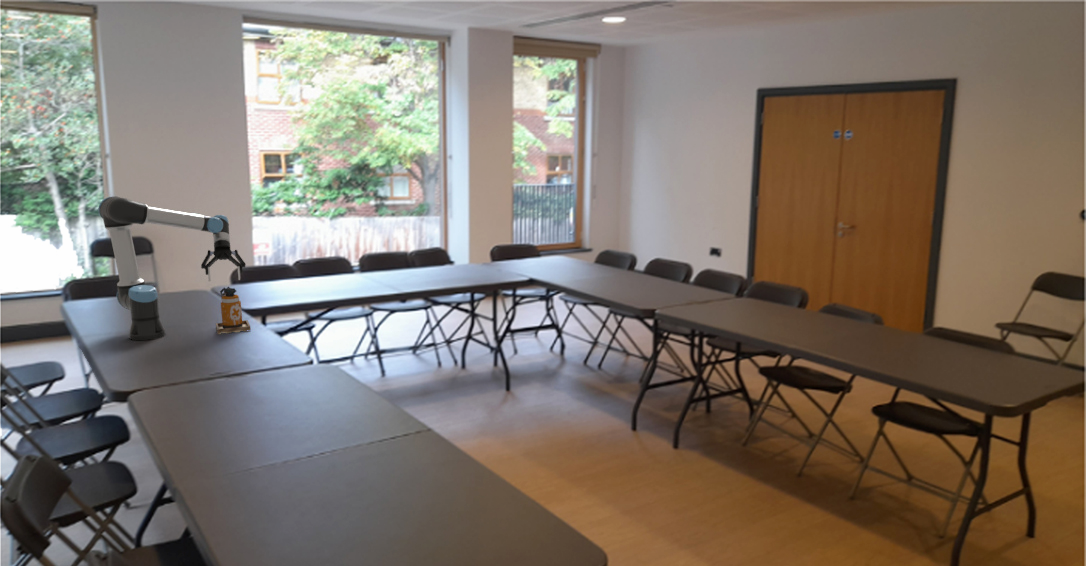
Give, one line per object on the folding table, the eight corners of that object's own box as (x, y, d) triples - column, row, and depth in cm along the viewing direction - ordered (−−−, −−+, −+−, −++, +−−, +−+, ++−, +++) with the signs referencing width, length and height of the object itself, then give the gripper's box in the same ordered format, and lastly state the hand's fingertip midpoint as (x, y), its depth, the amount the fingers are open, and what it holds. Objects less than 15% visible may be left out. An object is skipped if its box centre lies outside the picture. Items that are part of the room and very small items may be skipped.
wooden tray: (217, 334, 360) (217, 329, 360) (215, 327, 372) (215, 323, 372) (250, 330, 367) (250, 326, 366) (247, 324, 378) (247, 320, 378)
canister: (229, 331, 362) (226, 290, 358) (216, 327, 369) (213, 287, 365) (246, 327, 369) (243, 287, 365) (233, 324, 376) (230, 284, 372)
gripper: (248, 246, 392) (251, 282, 382) (194, 247, 381) (196, 284, 372) (248, 238, 386) (252, 274, 377) (194, 239, 375) (196, 276, 366)
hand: (224, 279), depth 374 cm, fingers open, 13 cm apart
